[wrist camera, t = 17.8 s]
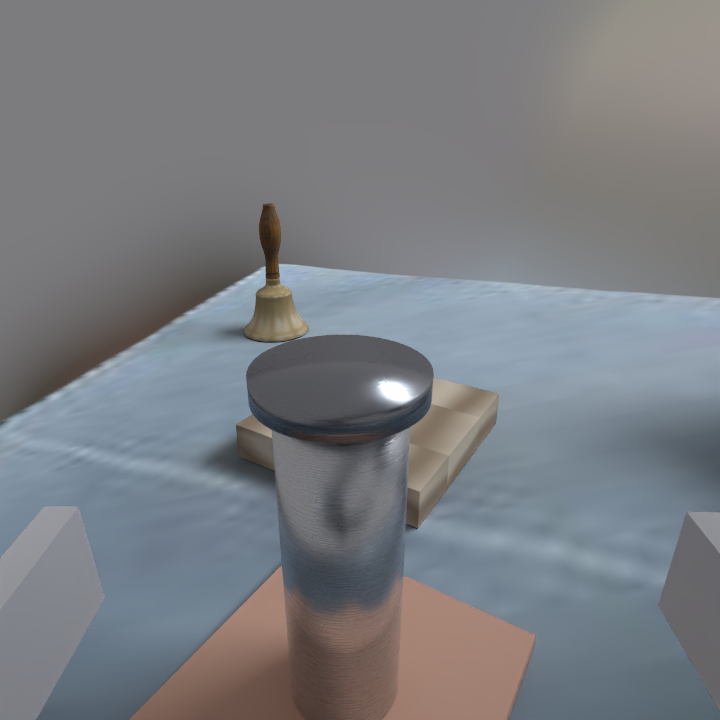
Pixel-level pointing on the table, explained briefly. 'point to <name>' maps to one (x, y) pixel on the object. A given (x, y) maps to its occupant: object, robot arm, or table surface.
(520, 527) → the table surface
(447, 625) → the terracotta mat
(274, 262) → the hand bell
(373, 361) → the aluminium plug
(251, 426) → the frame
